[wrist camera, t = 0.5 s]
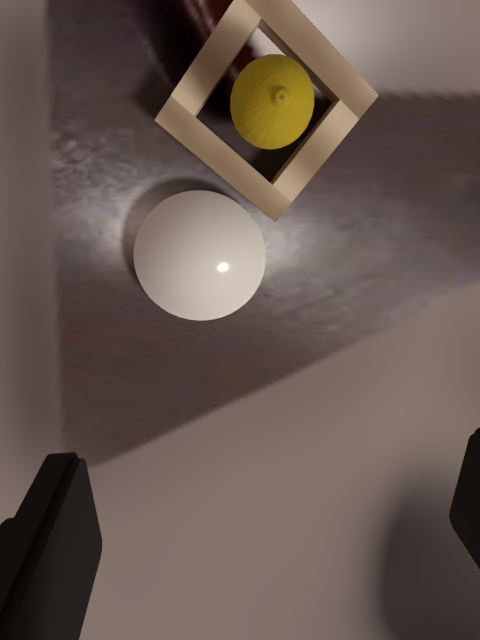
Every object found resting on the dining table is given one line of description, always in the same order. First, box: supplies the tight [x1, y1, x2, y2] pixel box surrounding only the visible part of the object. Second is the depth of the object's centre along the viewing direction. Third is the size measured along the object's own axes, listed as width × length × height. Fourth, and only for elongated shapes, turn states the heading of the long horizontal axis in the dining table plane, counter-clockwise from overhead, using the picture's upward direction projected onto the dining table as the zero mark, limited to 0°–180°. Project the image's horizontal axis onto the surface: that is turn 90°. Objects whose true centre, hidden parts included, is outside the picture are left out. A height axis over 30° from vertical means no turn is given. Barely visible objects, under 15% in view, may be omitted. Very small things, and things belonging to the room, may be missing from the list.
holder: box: [154, 0, 379, 222], centre depth 29 cm, size 12×12×2 cm
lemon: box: [230, 54, 314, 149], centre depth 27 cm, size 6×6×8 cm
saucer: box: [133, 190, 266, 320], centre depth 34 cm, size 11×11×1 cm
